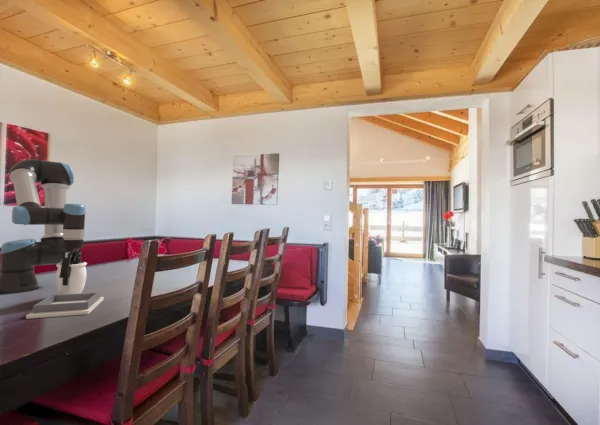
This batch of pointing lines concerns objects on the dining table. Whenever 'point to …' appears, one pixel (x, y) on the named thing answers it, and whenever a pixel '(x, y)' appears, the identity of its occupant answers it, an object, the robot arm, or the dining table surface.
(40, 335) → the dining table surface
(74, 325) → the dining table surface
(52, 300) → the socket board
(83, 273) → the jar
